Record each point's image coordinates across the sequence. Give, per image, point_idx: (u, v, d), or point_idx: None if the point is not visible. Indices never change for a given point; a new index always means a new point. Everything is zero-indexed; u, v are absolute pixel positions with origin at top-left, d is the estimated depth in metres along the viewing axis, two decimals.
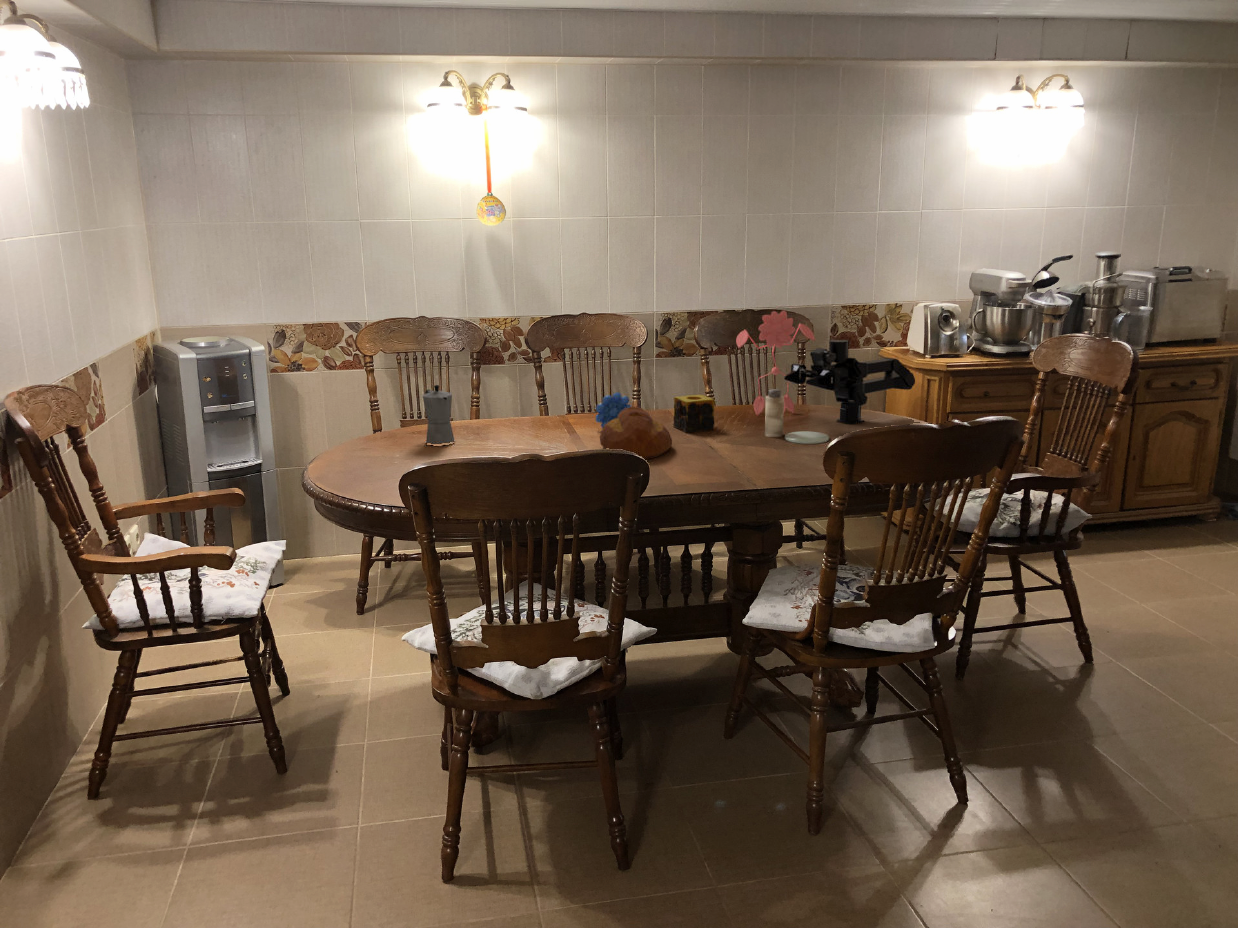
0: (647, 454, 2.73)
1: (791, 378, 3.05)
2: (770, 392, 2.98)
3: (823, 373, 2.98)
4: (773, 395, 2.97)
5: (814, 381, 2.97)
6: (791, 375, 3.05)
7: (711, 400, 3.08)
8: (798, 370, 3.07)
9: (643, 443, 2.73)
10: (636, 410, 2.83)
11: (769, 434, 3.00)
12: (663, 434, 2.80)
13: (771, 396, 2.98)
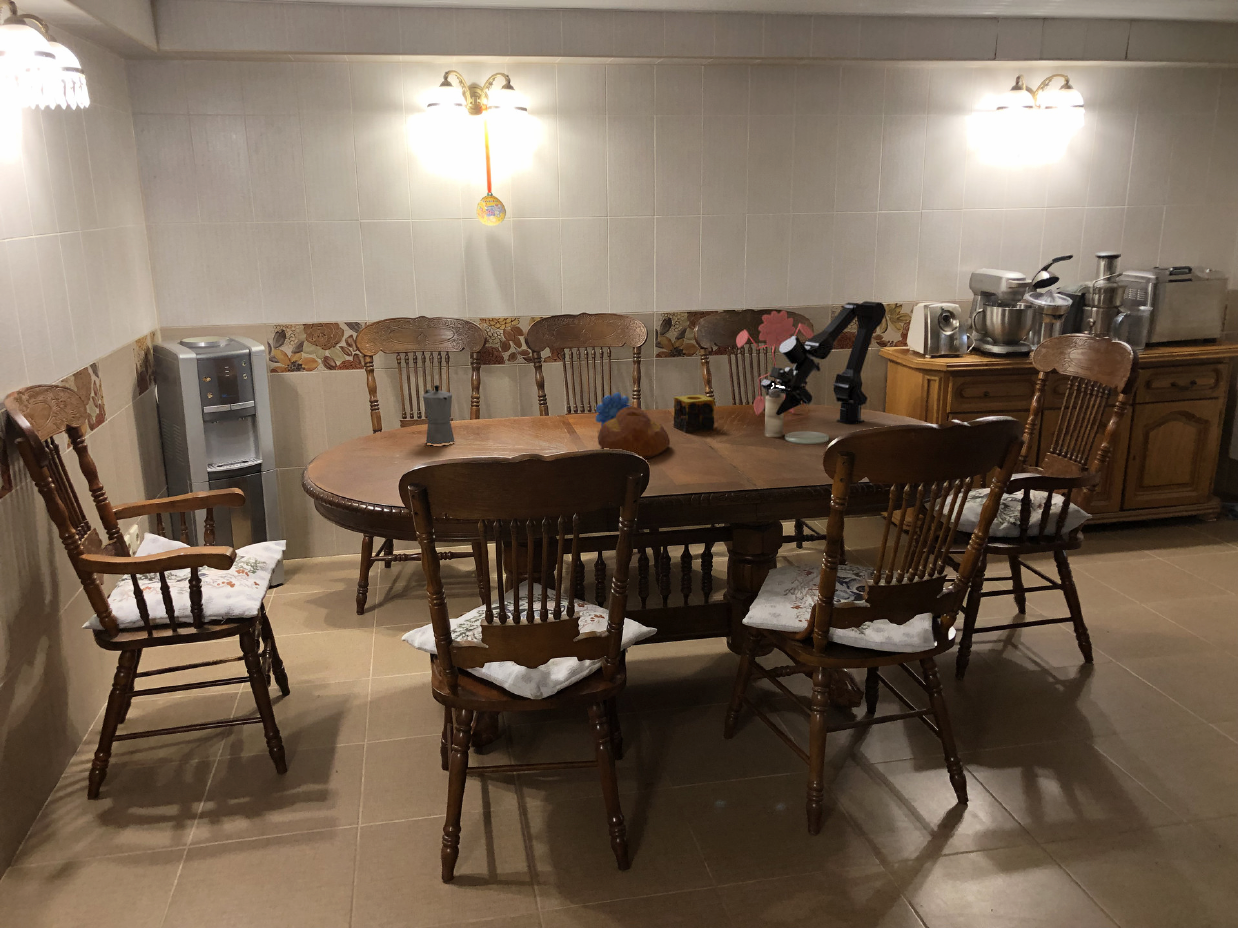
0: (644, 454, 2.73)
1: None
2: (770, 392, 2.98)
3: (787, 396, 2.96)
4: (773, 395, 2.97)
5: (783, 408, 2.97)
6: None
7: (711, 400, 3.08)
8: None
9: (640, 442, 2.73)
10: (634, 410, 2.83)
11: (769, 434, 3.00)
12: (660, 434, 2.80)
13: (771, 396, 2.98)
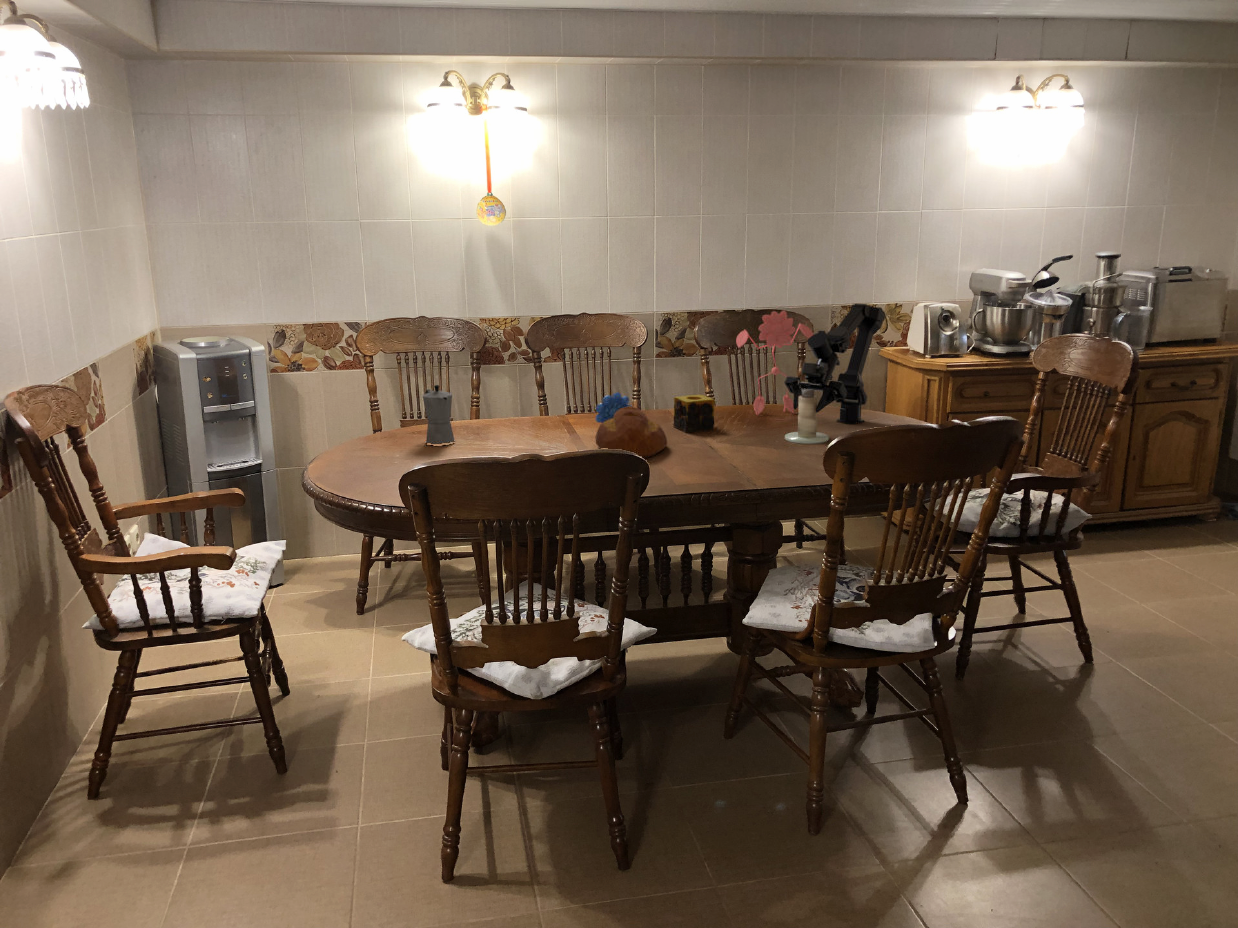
0: (639, 454, 2.73)
1: None
2: (805, 392, 2.92)
3: (825, 392, 2.91)
4: (808, 395, 2.92)
5: (822, 405, 2.91)
6: (797, 400, 2.96)
7: (711, 400, 3.08)
8: (798, 388, 2.97)
9: (635, 442, 2.73)
10: (631, 410, 2.83)
11: (805, 436, 2.94)
12: (656, 434, 2.80)
13: (806, 396, 2.92)
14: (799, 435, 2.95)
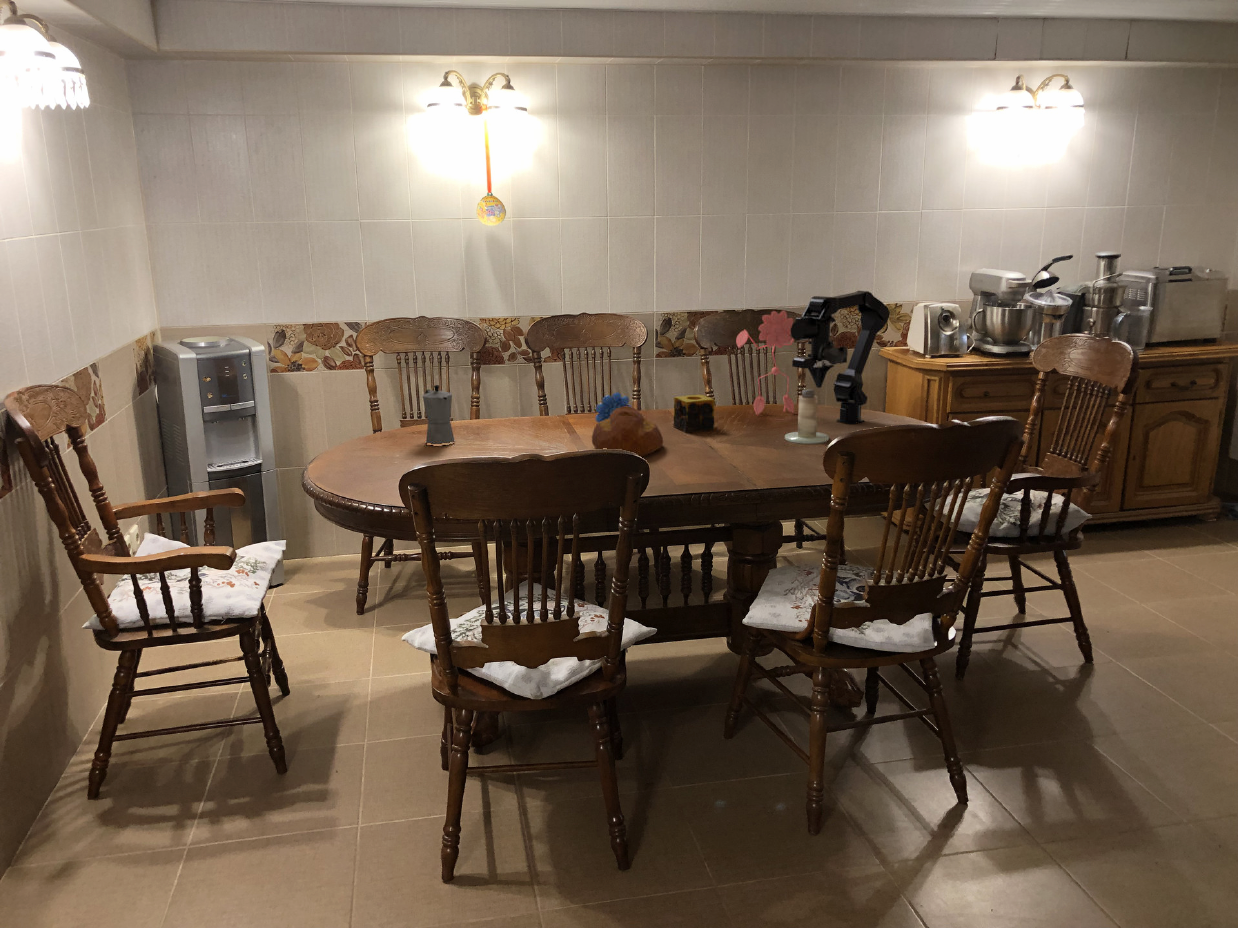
0: None
1: None
2: (805, 392, 2.92)
3: (828, 369, 3.04)
4: (809, 395, 2.91)
5: None
6: None
7: (711, 400, 3.08)
8: None
9: (628, 442, 2.74)
10: (626, 410, 2.84)
11: (805, 436, 2.94)
12: (651, 434, 2.80)
13: (807, 396, 2.92)
14: (799, 435, 2.95)
